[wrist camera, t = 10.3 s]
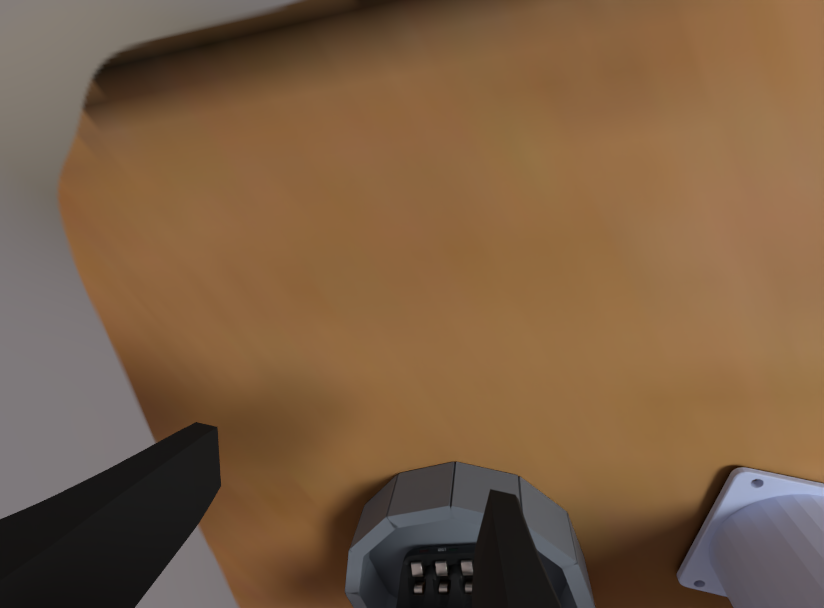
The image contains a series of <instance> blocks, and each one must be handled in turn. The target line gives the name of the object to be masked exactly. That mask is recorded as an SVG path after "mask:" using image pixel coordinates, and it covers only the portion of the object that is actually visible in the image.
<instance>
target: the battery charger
mask: <svg viewBox="0 0 824 608" xmlns="http://www.w3.org/2000/svg"><path fill="white" fill-rule="evenodd" d="M475 546H476V545H452V546H436V547H422V548H417V549H413V550H410V551H409V552H407V553H406V555H405V557H404V560H403V564H402V569H401V573H400V583H399V592H398V599H397V605H396V608H472V580H473V567H474V554H475Z"/></svg>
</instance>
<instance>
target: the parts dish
mask: <svg viewBox="0 0 824 608" xmlns="http://www.w3.org/2000/svg"><path fill="white" fill-rule="evenodd" d="M490 489H493V490H497V491H501V492H506V493H510V494H515V495H516V496H517V498H518V499H519V502H520V505H521V508H522V511H523V514H524V517H525V520H526V523H527V526H528V528H529V531H530V534H531V536H532V539H533V542H534V544H535V547H536V549H537V552H538V554H539V557H540V559H541V561H542V564H543V566H544V568H545V571H546V573H547V575H548V577H549V580H550V582H551V584H552V586H553V589H554V591H555V593H556V595H557V597H558V599H559V602H560V604H561V606H562V608H595V603H594V599H593V594H592V590H591V585H590V581H589V577H588V572H587V568H586V563H585V559H584V555H583V553H582V550H581V547H580V545H579V542H578V539H577V537H576V534H575V531H574V529H573V526H572V523H571V521H570V518H569V515H568V513H567V512H566V511H565V510H564V509H562V508H561V507H560V506H559V505H557V504H556V503H555V502H553V501H552V500H551V499H549V498H548V497H547V496H545V495H544V494H543V493H541V492H540V491H539V490H537V489H536V488H535V487H533V486H532V485H531V484H529V483H528V482H527V481H525V480H524V479H523V478H521V477H518V475H514V474H510V473H505V472H501V471H496V470H492V469H487V468H483V467H478V466H474V465H469V464H464V463H460V462H456V465H455V463H454V462H450V463H445V464H441V465H436V466H431V467H426V468H422V469H417V470H412V471H407V472H403V473H399V475H398V474H397V475H396V476H395V477H394V478H393V479H392V480H391V481H389V482H388V483H387V484H386V485H385V486H384V487H383V488H382V489H381V490H380V491H379V492H378V493H377V494H376V495H375V496H374V497H373V498H371V499H370V500H369V501H368V502H367V503H366V504H365V506H364V508H363V511H362V514H361V517H360V520H359V523H358V526H357V529H356V532H355V534H354V537H353V540H352V543H351V546H350V549H349V554H348V565H347V575H346V585H345V592H346V593H345V594H346V596H347V597H348V599H349V601H350V602H351V604H352V606H353V607H354V608H396V605H397V599H398V592H399V583H400V573H401V569H402V564H403V560H404V557H405V555H406V553H407V552H409V551H410V550H413V549H417V548H422V547H436V546H452V545H476V542H477V538H478V534H479V530H480V527H481V523H482V519H483V515H484V511H485V507H486V503H487V500H488V496H489V492H490Z"/></svg>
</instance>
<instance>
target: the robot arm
mask: <svg viewBox="0 0 824 608" xmlns="http://www.w3.org/2000/svg"><path fill="white" fill-rule="evenodd" d="M755 479H757V480H756V481H753V480H755ZM752 481H753V482H752ZM220 487H221V478H220V462H219V446H218V429H217V427H215V426H211V425H206V424H202V423H197V422H196V423H194V424H192V425H190V426H188V427H186V428H184V429H182V430H180V431H178V432H176V433H174V434H172V435H171V436H169V437H167V438H165V439H163V440H161V441H160V442H158V443H156V444H154V445H152V446H150V447H149V448H147V449H145V450H143V451H141V452H139V453H138V454H136V455H134V456H132V457H130V458H128V459H126V460H124V461H122V462H121V463H119V464H117V465H115V466H113V467H111V468H109V469H108V470H105V471H103V472H102V473H99V474H97V475H95V476H94V477H92V478H89V479H87V480H85V481H83V482H81V483H80V484H77V485H75V486H73V487H71V488H69V489H67V490H65V491H63V492H61V493H59V494H57V495H55V496H53V497H51V498H48V499H46V500H44V501H42V502H40V503H38V504H35V505H33V506H31V507H28V508H26V509H24V510H21V511H19V512H17V513H14V514H12V515H10V516H7V517H5V518H2V519H0V608H135V606H136V605H137V604H138V603H139V601H140V600H141V599H142V597H143V596H144V595H145V593H146V592H147V591H148V589H149V588H150V587H151V586H152V584H153V583H154V582H155V580H156V579H157V578H158V576H159V575H160V574H161V573H162V571H163V570H164V569H165V567H166V566H167V565H168V563H169V562H170V561H171V559H172V558H173V557H174V556H175V554H176V553H177V552H178V550H179V549H180V548H181V546H182V545H183V544H184V542H185V541H186V540H187V538H188V537H189V536H190V534H191V533H192V532H193V530H194V529H195V528H196V526H197V525H198V524H199V522H200V520H201V519H202V517H203V516H204V514H205V512H206V511H207V509H208V507H209V506H210V504H211V502H212V501H213V499H214V497H215V495H216V494H217V492H218V490H219V488H220ZM676 576H677V578H678V580H679V583H680V584H681V585H682V586H685V587H688V588H692V589H696V590H700V591H705V592H709V593H713V594H717V595H721V596H725V597H728V598H729V600H730V602H731V604H732V606H733V608H824V484H823V483H819V482H814V481H809V480H804V479H799V478H794V477H790V476H785V475H780V474H775V473H770V472H766V471H761V470H756V469H751V468H746V467H740V468H736V469H734V470H733V471H732V472H731V473H730V475H729V477H728V479H727V481H726V482H725V484H724V486H723V488H722V490H721V492H720V494H719V495H718V497H717V499H716V501H715V503H714V505H713V507H712V509H711V510H710V512H709V514H708V516H707V518H706V520H705V522H704V523H703V525H702V527H701V529H700V531H699V533H698V535H697V537H696V538H695V540H694V542H693V544H692V546H691V548H690V550H689V551H688V553H687V555H686V557H685V559H684V561H683V563H682V565H681V566H680V568H679V570H678V572H677V575H676ZM472 608H562V606H561V604H560V602H559V599H558V597H557V595H556V593H555V591H554V589H553V586H552V584H551V582H550V580H549V577H548V575H547V573H546V571H545V568H544V566H543V564H542V561H541V559H540V557H539V554H538V552H537V549H536V547H535V544H534V542H533V539H532V536H531V534H530V531H529V528H528V526H527V523H526V520H525V517H524V514H523V511H522V508H521V505H520V502H519V499H518V498H517V496H516V495H515V494H510V493H506V492H501V491H497V490H493V489H490V492H489V496H488V500H487V503H486V507H485V511H484V515H483V519H482V523H481V527H480V530H479V534H478V538H477V542H476V546H475V554H474V567H473V580H472Z"/></svg>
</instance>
